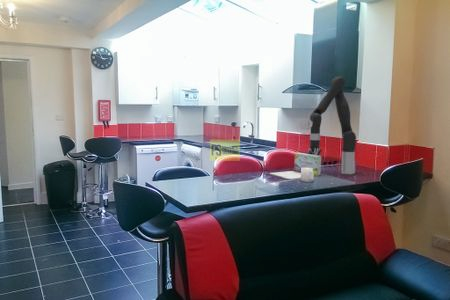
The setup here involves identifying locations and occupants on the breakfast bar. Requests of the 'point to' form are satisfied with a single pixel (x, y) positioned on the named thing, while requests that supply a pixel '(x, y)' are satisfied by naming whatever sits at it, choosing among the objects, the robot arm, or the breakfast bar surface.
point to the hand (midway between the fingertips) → (314, 161)
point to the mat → (288, 175)
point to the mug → (307, 174)
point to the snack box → (307, 162)
